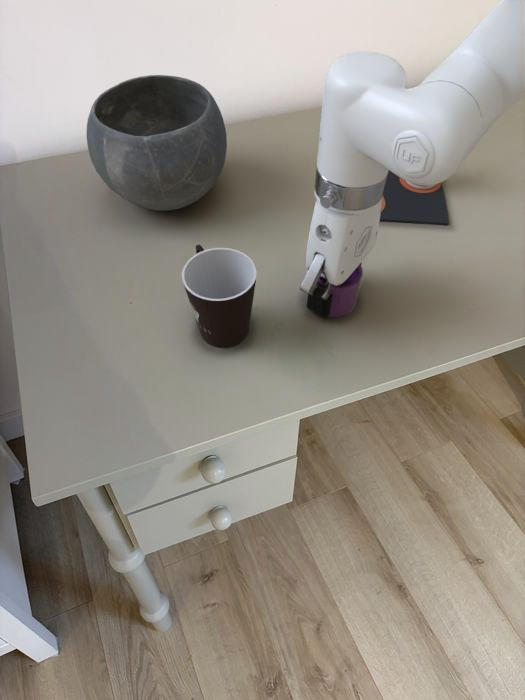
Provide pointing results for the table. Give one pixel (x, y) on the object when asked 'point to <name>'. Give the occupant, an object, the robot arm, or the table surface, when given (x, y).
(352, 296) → the cup
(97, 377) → the table surface
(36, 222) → the table surface
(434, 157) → the robot arm
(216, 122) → the bowl
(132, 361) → the table surface
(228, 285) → the coffee mug
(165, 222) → the table surface
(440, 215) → the placemat
